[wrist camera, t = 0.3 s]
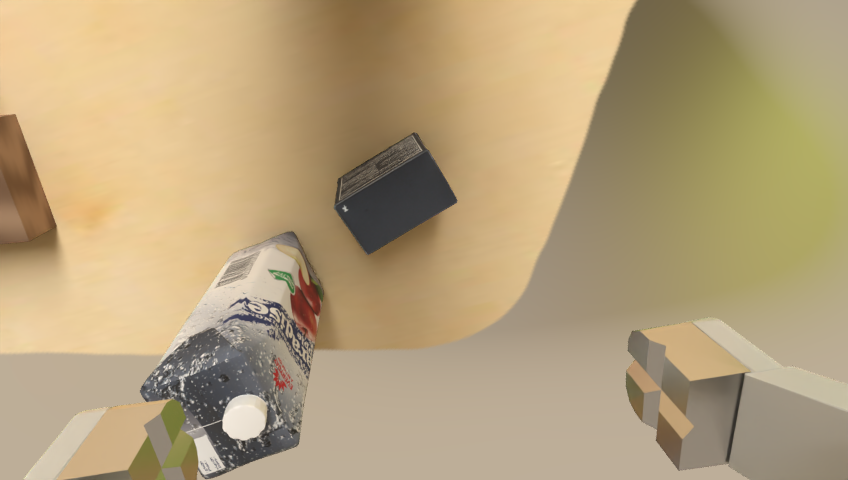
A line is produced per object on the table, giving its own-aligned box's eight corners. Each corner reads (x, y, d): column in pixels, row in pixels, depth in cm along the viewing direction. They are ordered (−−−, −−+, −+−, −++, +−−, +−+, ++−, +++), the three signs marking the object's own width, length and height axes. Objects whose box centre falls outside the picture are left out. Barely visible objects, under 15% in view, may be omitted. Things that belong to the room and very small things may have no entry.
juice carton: (267, 319, 60) (195, 509, 35) (225, 246, 56) (110, 401, 31) (333, 293, 60) (310, 466, 35) (296, 219, 56) (239, 352, 31)
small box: (366, 225, 57) (367, 260, 47) (335, 179, 55) (329, 205, 45) (444, 178, 56) (460, 204, 46) (415, 129, 54) (426, 146, 44)
